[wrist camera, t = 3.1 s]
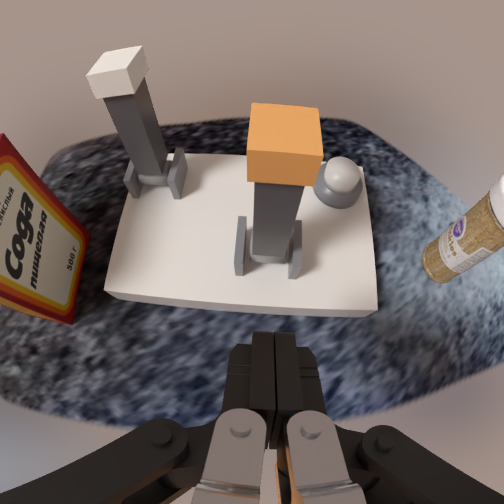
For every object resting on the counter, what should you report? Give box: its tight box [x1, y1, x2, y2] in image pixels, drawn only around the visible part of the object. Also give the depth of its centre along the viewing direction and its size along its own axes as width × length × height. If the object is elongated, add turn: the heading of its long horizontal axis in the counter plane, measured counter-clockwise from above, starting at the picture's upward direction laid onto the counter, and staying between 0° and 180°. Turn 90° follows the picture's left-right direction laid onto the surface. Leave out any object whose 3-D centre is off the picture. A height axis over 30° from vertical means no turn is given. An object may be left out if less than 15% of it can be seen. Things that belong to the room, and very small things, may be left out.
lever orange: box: [247, 103, 323, 264], centre depth 17 cm, size 3×3×13 cm
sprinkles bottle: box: [422, 175, 504, 283], centre depth 20 cm, size 5×5×14 cm
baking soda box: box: [0, 133, 91, 325], centre depth 18 cm, size 10×6×16 cm
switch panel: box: [104, 148, 378, 317], centre depth 25 cm, size 22×14×6 cm, turn 86°
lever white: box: [86, 46, 172, 185], centre depth 20 cm, size 3×3×13 cm
